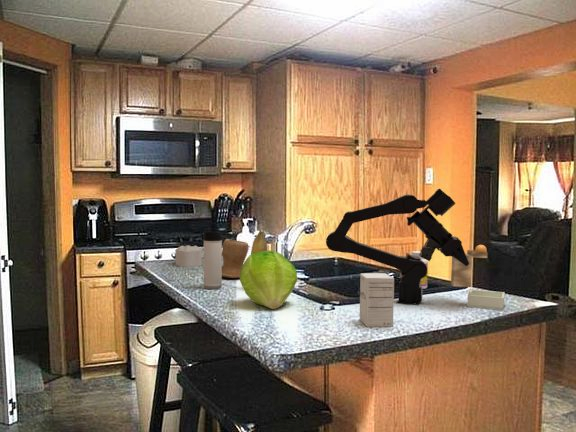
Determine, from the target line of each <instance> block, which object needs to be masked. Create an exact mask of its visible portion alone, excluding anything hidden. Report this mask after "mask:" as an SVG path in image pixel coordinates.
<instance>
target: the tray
mask: <svg viewBox="0 0 576 432" xmlns="http://www.w3.org/2000/svg"><path fill="white" fill-rule="evenodd" d="M505 294H506V293H505V291H494V290H492V291H491V290H482V289H481V290H479V289H469V292H468V294H467V303H466V304H467V305H466V306H467V308H477V309H487V310H498V311H499V310H500V311H504V309H505Z"/></svg>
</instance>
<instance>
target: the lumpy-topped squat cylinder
mask: <svg viewBox="0 0 576 432" xmlns="http://www.w3.org/2000/svg"><path fill="white" fill-rule="evenodd" d="M202 253H203V250H202V249H201V248H199V246H197V245H193V246H192V245H189V244H188V245H187V244H186V245H181V246H178V247H177V248H176V249H175V266H177V267H181V268H193V267H201V266H203V254H202Z"/></svg>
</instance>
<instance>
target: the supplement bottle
mask: <svg viewBox="0 0 576 432" xmlns="http://www.w3.org/2000/svg"><path fill="white" fill-rule="evenodd" d="M420 252H421V251H420V250H419V251H416V250H413V251H411V255H413V256H419V254H420ZM419 258H420V259H421V260H422V261H423V262H424V263H425V265H426V266H427V274H426V276H425V277H424V278H422V279H421V281H420V282H421V287H422V288H423V290H424V289H427V288H428V274H429V271H428V268H429V265H428V264H429V261H428V260H426V259H424V258H422V257H420V256H419Z"/></svg>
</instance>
